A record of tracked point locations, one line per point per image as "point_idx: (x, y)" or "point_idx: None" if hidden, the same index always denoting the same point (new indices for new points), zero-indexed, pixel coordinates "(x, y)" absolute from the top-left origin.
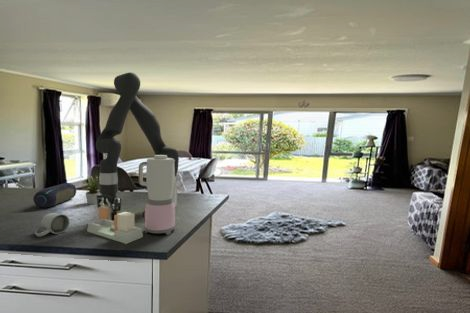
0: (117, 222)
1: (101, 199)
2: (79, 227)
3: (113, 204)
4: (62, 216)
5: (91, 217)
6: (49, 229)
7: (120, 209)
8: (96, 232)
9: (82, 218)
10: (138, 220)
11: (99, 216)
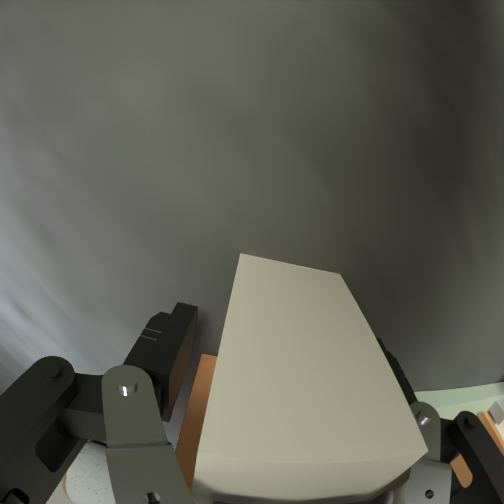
0: (468, 484)
1: (9, 483)
2: (165, 429)
3: (348, 474)
4: (111, 500)
5: (30, 250)
6: None
7: (480, 423)
8: None
9: (17, 292)
10: (493, 167)
11: (199, 409)
